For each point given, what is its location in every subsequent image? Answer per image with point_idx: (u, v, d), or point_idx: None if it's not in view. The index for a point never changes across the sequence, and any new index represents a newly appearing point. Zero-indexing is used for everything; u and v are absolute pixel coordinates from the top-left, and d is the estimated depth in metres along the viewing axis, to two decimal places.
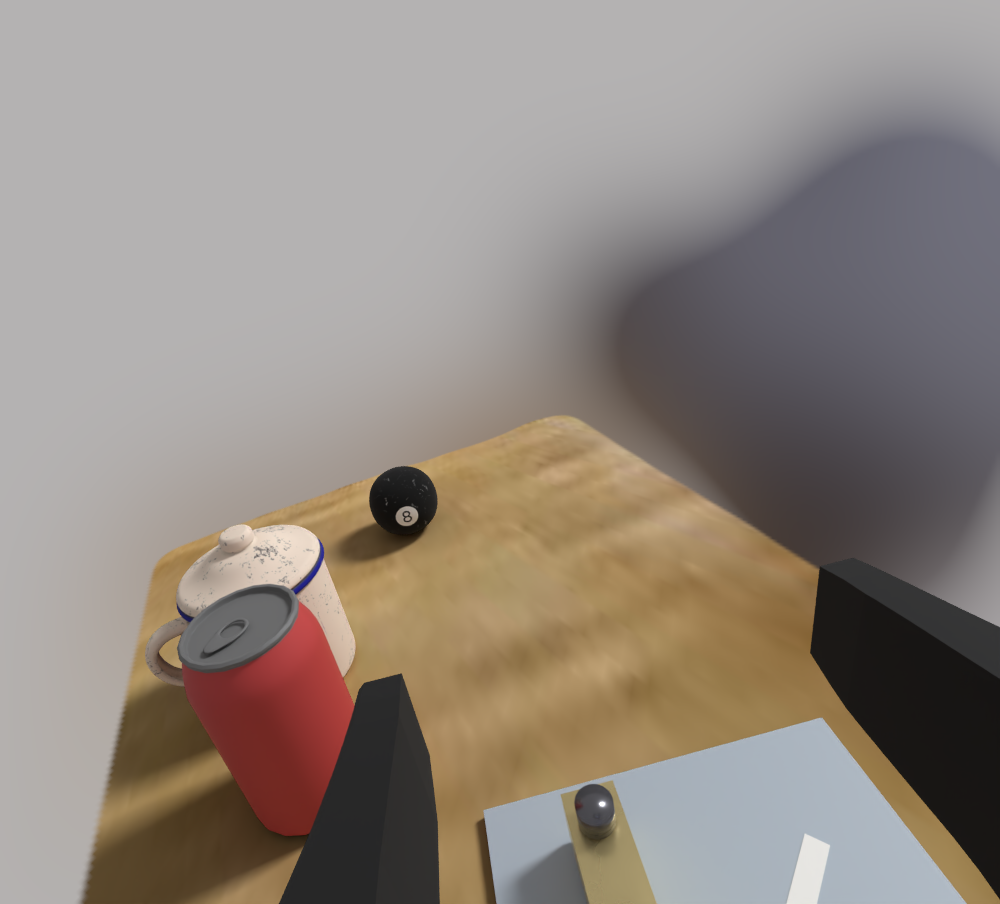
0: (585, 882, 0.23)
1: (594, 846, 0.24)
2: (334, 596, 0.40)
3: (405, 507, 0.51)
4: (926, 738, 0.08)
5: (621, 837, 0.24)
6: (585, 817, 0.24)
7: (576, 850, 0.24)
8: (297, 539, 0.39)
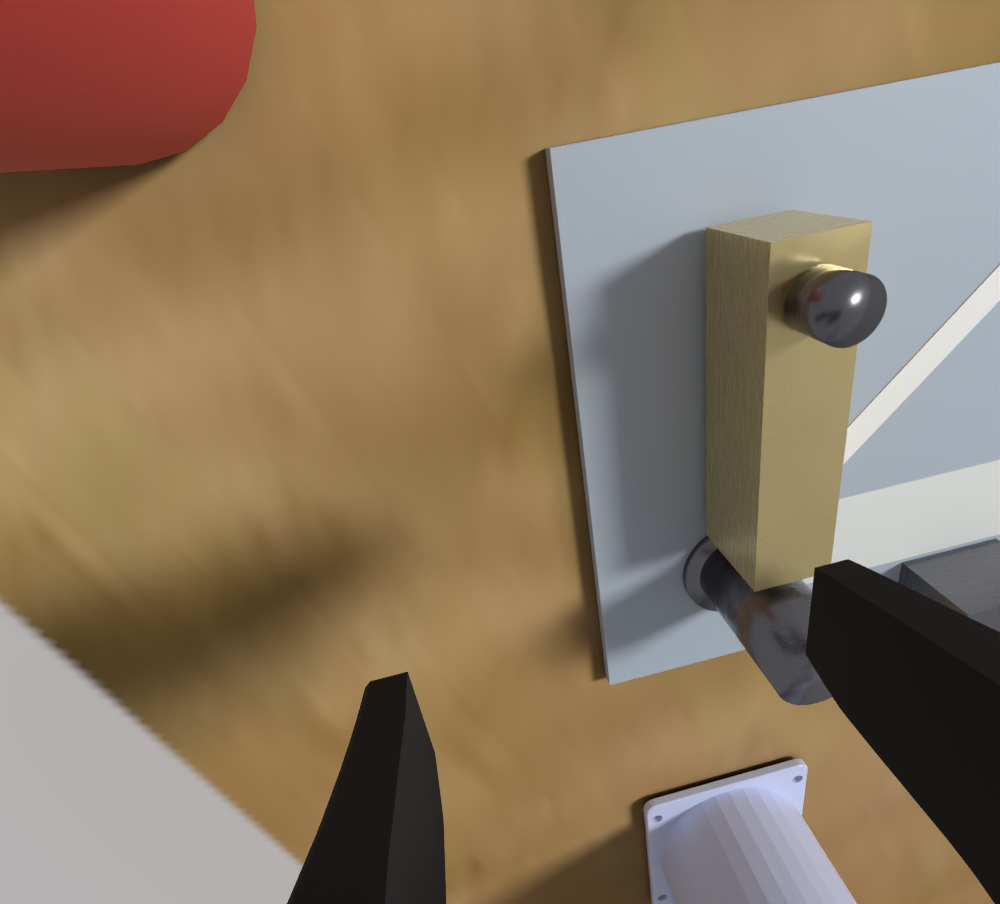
0: (766, 396, 0.15)
1: (796, 343, 0.14)
2: None
3: None
4: (919, 740, 0.08)
5: None
6: (828, 338, 0.13)
7: (767, 348, 0.14)
8: None
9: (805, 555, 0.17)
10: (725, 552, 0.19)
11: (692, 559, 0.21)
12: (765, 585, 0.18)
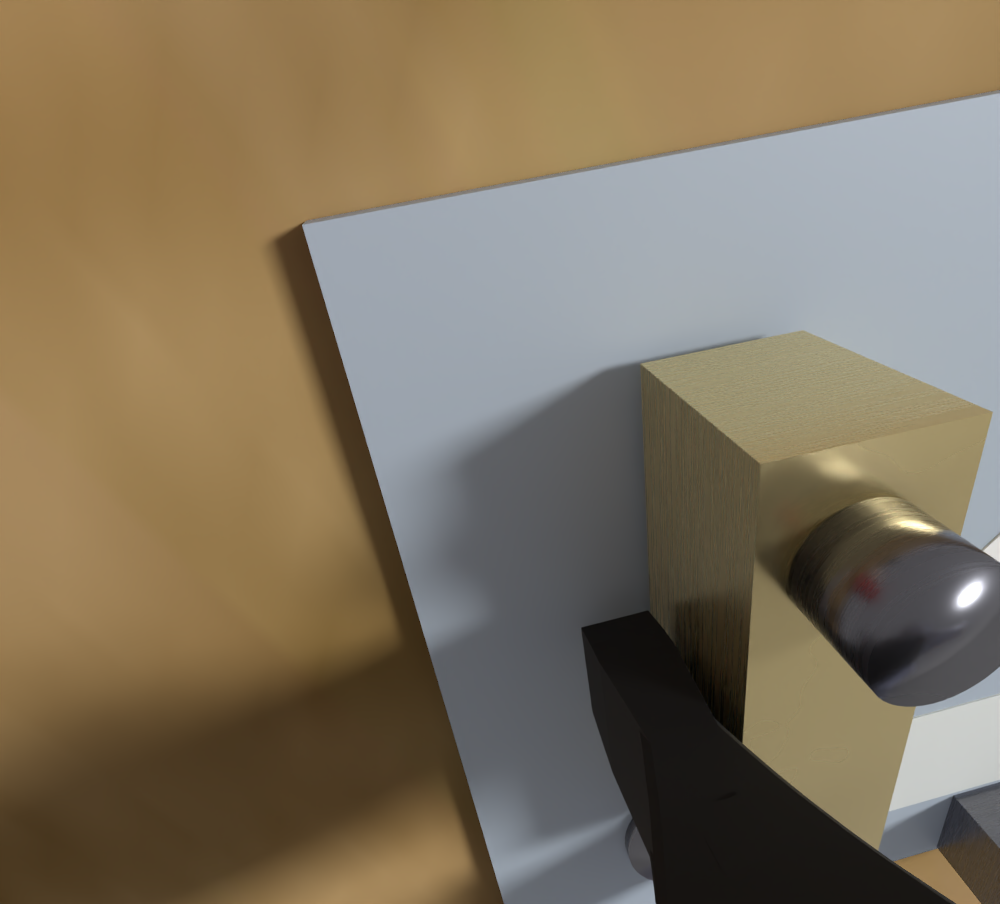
0: (748, 722, 0.07)
1: (813, 637, 0.07)
2: None
3: None
4: (649, 817, 0.08)
5: None
6: (890, 694, 0.06)
7: (752, 649, 0.07)
8: None
9: None
10: None
11: None
12: None
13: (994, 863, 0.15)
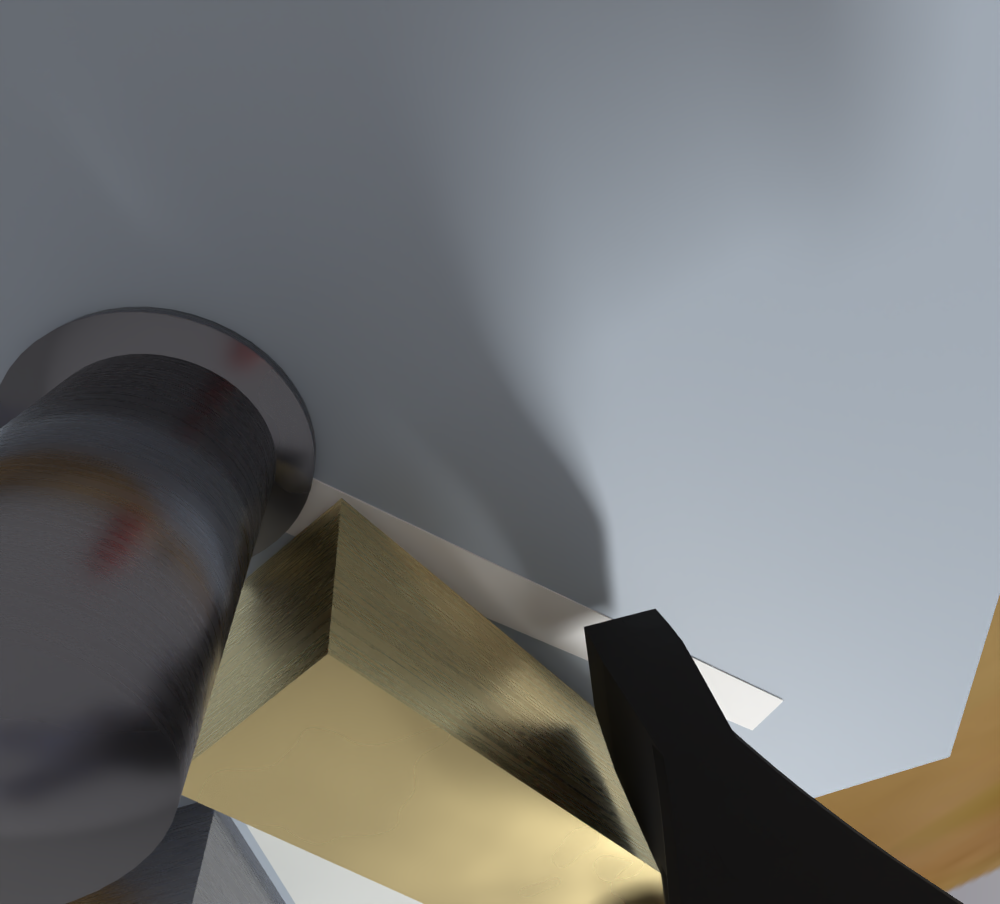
0: (647, 869, 0.09)
1: None
2: None
3: None
4: (651, 815, 0.08)
5: None
6: None
7: None
8: None
9: (289, 775, 0.07)
10: (347, 559, 0.07)
11: (187, 319, 0.07)
12: (314, 680, 0.06)
13: (160, 885, 0.10)
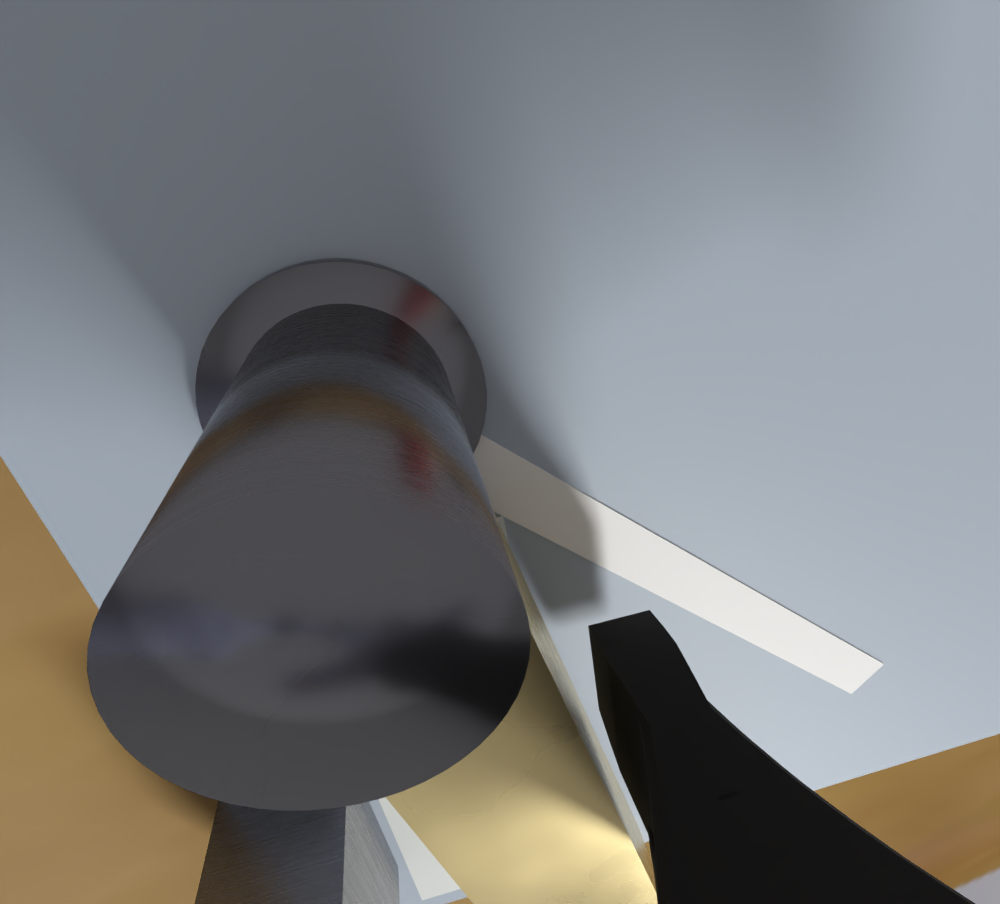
0: (655, 901, 0.09)
1: None
2: None
3: None
4: None
5: None
6: None
7: None
8: None
9: None
10: None
11: (387, 270, 0.07)
12: None
13: (308, 836, 0.10)
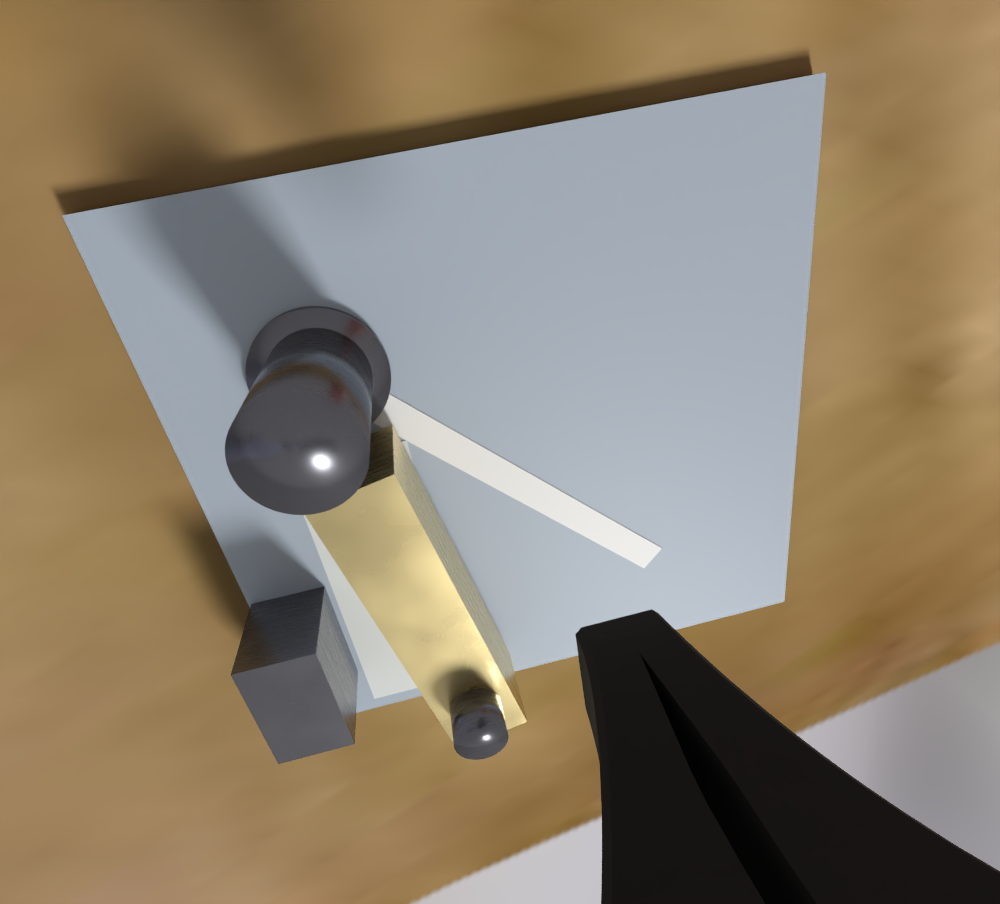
0: (484, 647, 0.18)
1: (476, 682, 0.18)
2: None
3: None
4: None
5: (441, 697, 0.18)
6: (491, 724, 0.17)
7: (499, 673, 0.18)
8: None
9: (353, 527, 0.15)
10: (395, 449, 0.16)
11: (337, 311, 0.16)
12: (384, 484, 0.15)
13: (300, 619, 0.18)
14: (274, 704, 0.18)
